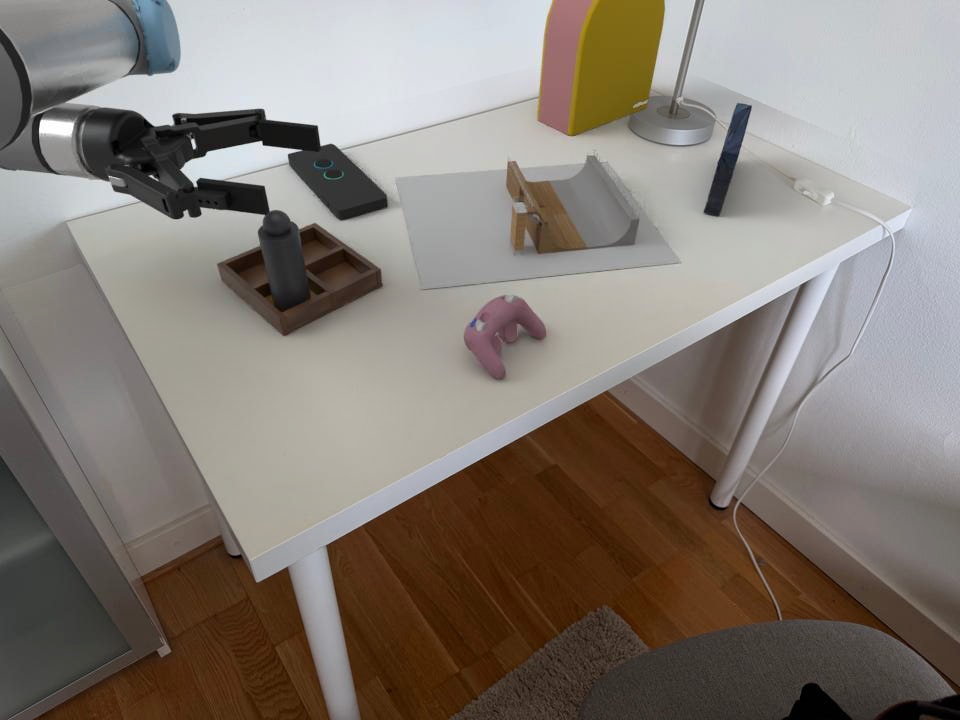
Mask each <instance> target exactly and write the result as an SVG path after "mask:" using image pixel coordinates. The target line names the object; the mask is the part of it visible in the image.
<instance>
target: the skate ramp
mask: <svg viewBox="0 0 960 720" xmlns="http://www.w3.org/2000/svg"><path fill="white" fill-rule="evenodd" d="M507 157H508V158H507V164H506V165H507V167H506V168H503V169H501V168H500V169H490V170H477V171H476V170H475V171H464V172H449V173H436V174H435V173H434V174H424V175H411V176H409V175H408V176H397V177H395V178H394V179H395V182H396V187H397V191H398V195H399V199H400V203H401V207H402V211H403V215H404V219H405V223H406V228H407V231H408V236H409V240H410V244H411V248H412V253H413V256H414V261H415V264H416V269H417V274H418V276H419V281H420V285H421V289H422V290H431V289H439V288H451V287H459V286H470V285H477V284H478V285H480V284H487V283H488V284H489V283H497V282H499V283H500V282H506V281H507V282H508V281H509V282H510V281H516V280H527V279H538V278H547V277H556V276H566V275H574V274H576V275H577V274H585V273H594V272H603V271H614V270H624V269H632V268H643V267H650V266H651V267H652V266H662V265H672V264H681V263H682V262H681V261H680V259H679V257H678V256H677V255H676V253H675V251H673V249H672V248H671V246H670V245H669V244H668V243H667V241H666V240H665V239H664V237H663V235H662V234H661V233H660V231H659V230H658V228H656V226H655V225H654V223H653V222H652V221H651V219H650V218H649V216H648V215H647V213H646V212H645V211H644V210H643V208H642V207H641V205H640V204H639V202H638V201H637V200H636V198H635V197H634V196H633V194H632V193H631V191H630V190H629V189H628V187H627V186H626V184H625V183H624V182H623V181H622V179H621V178H620V177H619V175H618V173H617V172H616V171H615V169H614V168H613V167H612V166H611V164H610V163H609V161H607V160H606V161H604V160H603V159H602V157H601V156H600V155H599V154H598V152H597V150H596V149H593V154H592V155H591V154H590V155H589V154H587V155H586V160H585V162H582V163H581V162H580V163H570V164H569V163H568V164H557V165H556V164H555V165H544V166H543V165H541V166H529V167H519V165H518V163H517V161H516V160H511V158H510V156H509V155H507Z"/></svg>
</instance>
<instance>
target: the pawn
mask: <svg viewBox="0 0 960 720" xmlns="http://www.w3.org/2000/svg"><path fill="white" fill-rule="evenodd" d="M299 229H300V227H299V225H298V224H297V223H295V222H294V221H292V220H291V218H290V217H289V215H288V214H287V213H286V212H285V211H283V210H280V209H273V210H270V212H269V213H268V214H267V215H263V218H262V224H261V226H260V227H259V228H258V230H257V237H258V241H259V246H261V250H262V254H263V259H264V263H265V268H266V272H267V276H268V281H269V285H270V290H271V294H272V298H273V303H274V306H275V307H276V308H277V309H278V310H279V311H281V312H285V311H287V310H289V309H291V308H293V307H295V306H297V305H299V304H301V303H303V302H305V301H307V300H309V299H311V295H310V289H309V284H308V278H307V273H306V267H305V261H304V256H303V250H302V245H301V239H300V233H299Z"/></svg>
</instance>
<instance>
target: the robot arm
mask: <svg viewBox="0 0 960 720" xmlns="http://www.w3.org/2000/svg"><path fill="white" fill-rule="evenodd" d="M181 51H182V49H181V40H180V34H179V29H178V25H177V21H176V17H175V15H174V12H173V9H172V7H171V5H170V3H169V2H168V0H0V169H1V170H6V171H13V172H16V171H25V172H32V173H33V172H34V173H41V174H42V173H43V174H50V175H51V174H52V175H56V176H66V177H74V178H82V179H88V180H90V181H94V180H96V181H101V180H102V181H103V182H108V183H110V185H111V188H112V190H113V192H115V193H119V194H125V195H128V196H131V197H133V198H135V199H136V200H138V201H139V202H142V203H144V204H145V205H146V206H149V207H151V208H152V209H154V210H155V211H157V212H159V213H161V214H162V215H164V216H166V217H168V218H169V219H172V220H181V219H183V218H184V217H185V213H184V212H185V211H187V214H188V217H189V218H193V219H194V218H195V219H196V218H199V217H201V216H202V215H203V213H202V209H209V210H216V211H230V212H237V213H245V214H246V213H247V214H253V215H260V216H261V215H262V216H265V215H267V214H268V213H269V212H270V211H271V210H270V204H269V200H268V196H267V191H266V186H265V185H262V184H261V185H260V184H255V183H245V182H237V181H230V180H229V181H228V180H222V179H213V178H206V177H199V178H198V179H197V180H195V184H196V186H195V185H194V182H193V181H192V180H191V179H190V178H189V177H188V176H187V175H186V174H185V173H184V172H183V171H182V169H183V168H184V166H185V165H186V164H187V163H188V162H190V161H192V160H195V159H201V158H204V157H206V156H207V154H208V153H209V152H214V151H217V150H222V149H223V150H224V149H228V148H233V147H238V146H243V145H248V144H253V143H259V142H261V144H262V146H263V147H271V148H273V147H274V148H280V149H289V150H297V151H302V150H305V151H313V152H319V151H320V150H321V146H322V145H321V137H320V131H319V125H317V124H308V123H299V122H291V121H290V122H289V121H282V120H281V121H280V120H274V119H273V120H272V119H267V115H266V110H265V109H264V108H250V109H249V108H247V109H237V110H227V111H226V110H225V111H213V112H211V111H210V112H202V113H201V112H200V113H199V112H198V113H189V112H186V113H185V112H175V113H173V114H172V115H171V117H172V120H173V124H172V125H170V124H163V125H156V126H155V125H153V124H152V123H151V122H150V121H148V119H147V118H146V117H145V116H143V114H141V113H140V112H138V111H135V110H131V109H123V108H115V107H102V106H98V105H93V104H92V105H91V104H81V103H73V102H72V103H71V102H69V101H72V100H74V99H76V98H79V97H81V96H83V95H87V94H88V93H90V92H93V91H95V90H97V89H100V88H101V87H104V86H106V85H108V84H111V83H113V82H115V81H118V80H120V79H123V78H125V77H128V76H139V75H140V76H143V75H144V76H147V77H152V76H154V75H163V74H172V73H174V72H175V71H177V69H178V68H179V66H180V63H181V57H182V53H181ZM192 140H193V141H194V144H195V148H194V146H193V142H192Z"/></svg>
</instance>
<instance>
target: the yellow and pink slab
mask: <svg viewBox="0 0 960 720" xmlns="http://www.w3.org/2000/svg"><path fill="white" fill-rule="evenodd" d="M665 13H666V4H665V0H552V1H551V4H550V7H549V10H548V12H547V16H546V20H545V27H544V32H543V41H542V42H543V44H542V55H541V65H540V79H539V91H538V102H537V113H536V120H537V121H539V122H540V123H542V124H544V125H546V126H548V127H550V128H552V129H554V130H555V131H559V132H561V133H563V134H564V135H567V136H569V137H575V136H577V135H579V134H582V133H584V132H587V131H590V130H593V129H595V128H598V127H600V126H603V125H605V124H608V123H610V122H614V121H616V120H619V119H621V118H624V117H627V116H629V115H632V114H635V113H638V112H640V111H642V110H645V109H647V108H648V105H649V102H648V103H646V104H643V105H640V106H638V107H635V108H633V106H634V105H635V104H637V103H639V102H644V101H646V100H648V101H649V99H650V94H651V89H652V86H653V85H652V84H653V80H654V79H653V78H654V74H655V69H656V64H657V59H658V53H659V48H660V43H661V37H662V33H663V32H662V31H663V27H664V22H665V21H664V20H665Z"/></svg>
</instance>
